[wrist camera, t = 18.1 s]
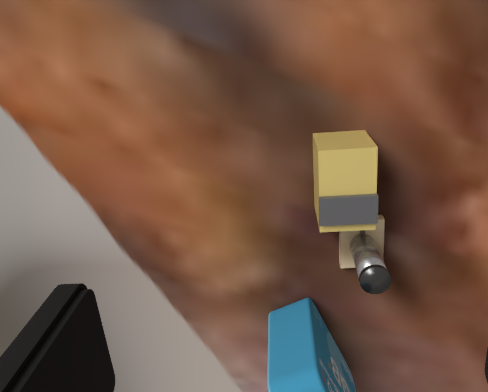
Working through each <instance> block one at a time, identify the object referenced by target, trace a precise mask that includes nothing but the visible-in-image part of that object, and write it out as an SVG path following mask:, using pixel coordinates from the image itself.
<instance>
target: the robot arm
mask: <svg viewBox="0 0 488 392" xmlns="http://www.w3.org/2000/svg"><path fill="white" fill-rule="evenodd" d="M485 375H486V379H487V382H488V349H487V356H486V363H485ZM114 387H115V374H114V370H113V366H112V362H111V358H110V354H109V350H108V347H107V342H106V338H105V334H104V330H103V326H102V322H101V318H100V314H99V310H98V306H97V302H96V298H95V295H94V292H93V291H92V290H91V289H87V287H86V286H85V285H84V284H61V285H58V286H57V287H56V288H55V289H54V290H53V292H52V293H51V294H50V295H49V297H48V298H47V299H46V300H45V302H44V303H43V304H42V306H41V307H40V308H39V309H38V311H37V312H36V313H35V314H34V315H33V317H32V318H31V319H30V321H29V322H28V323H27V324H26V326H25V327H24V328H23V329H22V331H21V332H20V333H19V334H18V336H17V337H16V338H15V340H14V341H13V342H12V343H11V345H10V346H9V347H8V348H7V349H6V351H5V352H4V353H3V354H2V356H1V357H0V392H113V391H114Z"/></svg>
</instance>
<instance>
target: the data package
mask: <svg viewBox="0 0 488 392" xmlns="http://www.w3.org/2000/svg"><path fill="white" fill-rule="evenodd" d="M267 387H268V392H356V388H355V384H354V380H353V377H352V374H351V371H350V369H349V367H348V365H347V363H346V361H345V359H344V358H343V356H342V354H341V352H340V350H339V348H338V347H337V345H336V343H335V341H334V339H333V337H332V336H331V334H330V332H329V330H328V328H327V326H326V325H325V323H324V321H323V319H322V317H321V315H320V313H319V312H318V310H317V308H316V306H315V304H314V303H313V301H312V300H311V299H310V298H305V299H302V300H300V301H297V302H295V303H292V304H290V305H287V306H284V307H282V308H279V309H277V310H274V311H271V312H270V313H269V317H268V369H267Z"/></svg>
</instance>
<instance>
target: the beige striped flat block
mask: <svg viewBox="0 0 488 392" xmlns="http://www.w3.org/2000/svg"><path fill="white" fill-rule="evenodd" d="M384 226H385V219H384V217H383V215H378V224H376V230H359V231H339V264H340V267H341V268H356V267H355V264H354V261H353V258H352V254H351V251H350V248H349V245H350V242H351V240H352V239H353V238H354V237H355V236H357V235H360V234H366V235H369V236H371V237H372V238H373V239H374V241H375V243H376V245H377V248H378V250H379V252H380V254H381V257H382V259H383V256H384Z"/></svg>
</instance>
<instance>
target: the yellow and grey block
mask: <svg viewBox="0 0 488 392" xmlns="http://www.w3.org/2000/svg"><path fill="white" fill-rule="evenodd" d="M377 161H378V147H377V145H376V144H375V143H374V141H373V140H372V139H371V138H370V136H369V135H368V134H367V132H366V131H365V130H357V131H342V132H327V133H313V166H314V203H315V211H316V215H317V220H318V225H319V230H320V232H337V231H359V230H376V224H378V198H379V196H378V194H377Z"/></svg>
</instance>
